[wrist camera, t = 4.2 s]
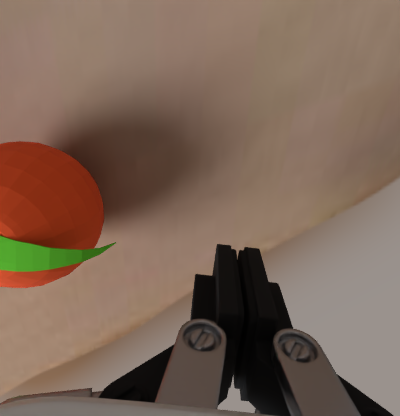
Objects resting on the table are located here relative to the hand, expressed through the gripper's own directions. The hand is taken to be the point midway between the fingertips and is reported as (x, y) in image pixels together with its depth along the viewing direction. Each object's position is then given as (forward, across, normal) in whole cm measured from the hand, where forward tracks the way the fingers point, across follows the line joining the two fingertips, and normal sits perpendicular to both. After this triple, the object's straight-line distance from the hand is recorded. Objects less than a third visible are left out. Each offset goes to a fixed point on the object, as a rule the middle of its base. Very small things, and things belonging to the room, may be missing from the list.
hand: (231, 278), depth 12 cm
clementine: (+7, +9, 0) cm, 11 cm away
